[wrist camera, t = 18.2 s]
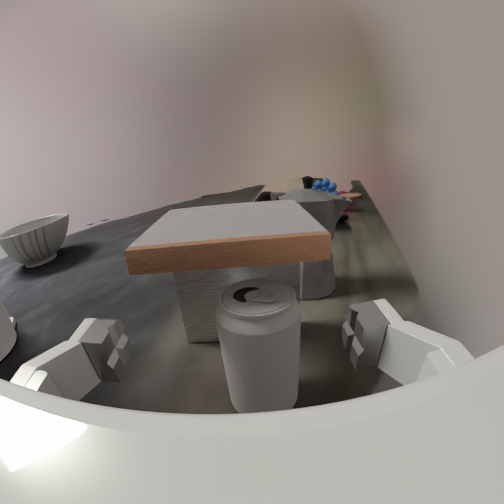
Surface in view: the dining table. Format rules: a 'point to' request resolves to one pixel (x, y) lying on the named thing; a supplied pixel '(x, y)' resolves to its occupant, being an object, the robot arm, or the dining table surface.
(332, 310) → the dining table surface
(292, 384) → the beverage can
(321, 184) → the blue bumpy cluster
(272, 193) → the coffeepot
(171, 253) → the wood-edged grey shelf
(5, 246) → the decorative bowl
